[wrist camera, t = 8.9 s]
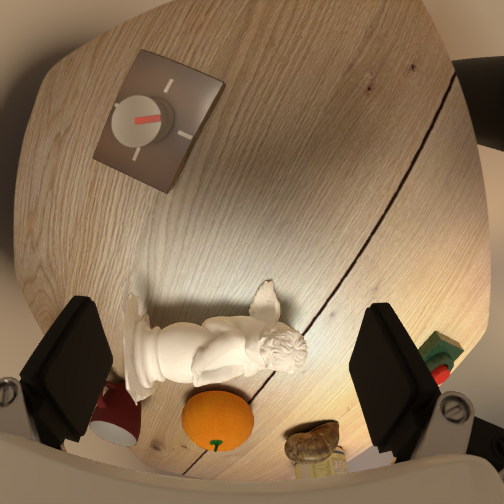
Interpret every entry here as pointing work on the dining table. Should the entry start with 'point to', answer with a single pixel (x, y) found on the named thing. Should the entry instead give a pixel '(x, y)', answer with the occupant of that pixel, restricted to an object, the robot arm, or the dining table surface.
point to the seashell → (313, 444)
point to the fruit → (217, 420)
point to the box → (440, 351)
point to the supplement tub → (323, 467)
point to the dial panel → (184, 128)
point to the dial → (142, 120)
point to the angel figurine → (209, 346)
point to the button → (440, 374)
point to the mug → (117, 416)
